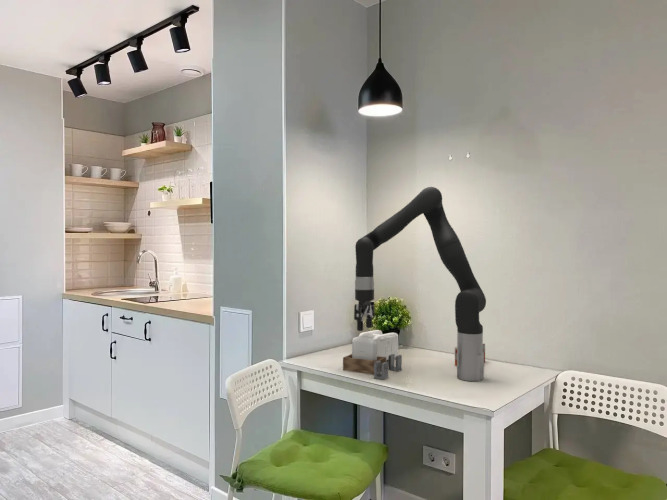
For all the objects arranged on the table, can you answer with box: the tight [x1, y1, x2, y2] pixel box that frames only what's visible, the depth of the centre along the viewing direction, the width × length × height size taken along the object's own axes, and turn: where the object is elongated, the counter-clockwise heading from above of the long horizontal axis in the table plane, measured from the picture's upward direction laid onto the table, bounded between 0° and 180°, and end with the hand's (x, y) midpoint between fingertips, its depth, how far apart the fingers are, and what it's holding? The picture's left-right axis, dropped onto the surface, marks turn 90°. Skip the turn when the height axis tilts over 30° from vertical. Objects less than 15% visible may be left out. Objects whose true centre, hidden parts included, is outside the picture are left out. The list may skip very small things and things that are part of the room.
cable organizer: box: [358, 329, 399, 361], centre depth 229 cm, size 15×11×12 cm
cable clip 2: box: [387, 354, 403, 372], centre depth 210 cm, size 4×4×6 cm
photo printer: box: [351, 335, 377, 361], centre depth 210 cm, size 10×4×12 cm, turn 62°
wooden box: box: [342, 353, 387, 375], centre depth 210 cm, size 15×9×5 cm, turn 62°
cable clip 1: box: [373, 361, 389, 380], centre depth 198 cm, size 4×4×6 cm
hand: (364, 329), depth 209 cm, fingers open, 8 cm apart
